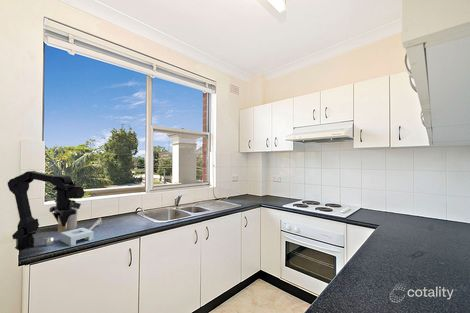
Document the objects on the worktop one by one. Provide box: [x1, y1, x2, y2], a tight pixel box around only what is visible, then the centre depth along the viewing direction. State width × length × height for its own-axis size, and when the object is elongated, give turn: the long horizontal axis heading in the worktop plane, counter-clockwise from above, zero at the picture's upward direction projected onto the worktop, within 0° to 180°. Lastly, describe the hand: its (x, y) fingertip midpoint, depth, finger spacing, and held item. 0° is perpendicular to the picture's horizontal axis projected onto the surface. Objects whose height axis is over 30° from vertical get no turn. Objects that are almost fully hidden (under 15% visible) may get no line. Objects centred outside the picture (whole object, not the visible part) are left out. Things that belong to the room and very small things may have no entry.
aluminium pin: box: [44, 236, 55, 247], centre depth 126 cm, size 4×4×4 cm
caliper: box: [87, 217, 102, 231], centre depth 154 cm, size 20×1×6 cm, turn 7°
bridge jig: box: [60, 227, 95, 247], centre depth 133 cm, size 12×14×5 cm
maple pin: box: [57, 217, 68, 233], centre depth 122 cm, size 4×4×8 cm
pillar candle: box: [66, 208, 78, 231], centre depth 155 cm, size 10×10×15 cm
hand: (62, 225), depth 122 cm, fingers closed on maple pin, 4 cm apart
